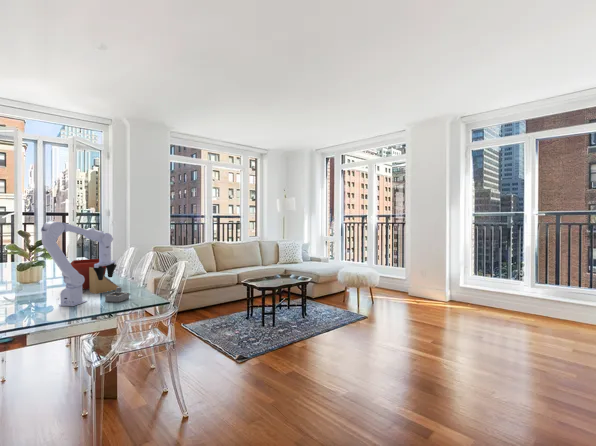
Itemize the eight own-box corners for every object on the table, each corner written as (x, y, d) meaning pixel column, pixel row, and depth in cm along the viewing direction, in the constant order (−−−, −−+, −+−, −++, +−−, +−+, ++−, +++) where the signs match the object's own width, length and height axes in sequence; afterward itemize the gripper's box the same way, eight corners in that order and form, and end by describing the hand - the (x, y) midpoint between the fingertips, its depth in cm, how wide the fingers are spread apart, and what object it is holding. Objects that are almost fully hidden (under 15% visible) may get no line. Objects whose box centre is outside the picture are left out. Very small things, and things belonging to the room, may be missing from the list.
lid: (120, 298, 183) (120, 289, 183) (106, 297, 185) (106, 289, 185) (130, 294, 192) (130, 286, 192) (117, 293, 193) (117, 285, 193)
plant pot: (73, 285, 213) (73, 259, 213) (107, 282, 222) (107, 258, 222) (69, 292, 196) (69, 263, 196) (106, 288, 205) (106, 261, 205)
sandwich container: (122, 289, 204) (122, 265, 204) (95, 294, 192) (95, 268, 192) (116, 287, 210) (115, 263, 209) (89, 292, 197) (89, 267, 197)
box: (119, 302, 174) (119, 296, 174) (105, 302, 175) (105, 295, 175) (128, 298, 182) (128, 292, 182) (115, 298, 183) (115, 291, 183)
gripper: (102, 256, 177) (102, 281, 177) (120, 252, 191) (120, 276, 191) (90, 255, 177) (90, 281, 178) (109, 252, 192) (109, 275, 192)
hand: (105, 278), depth 185 cm, fingers open, 7 cm apart
